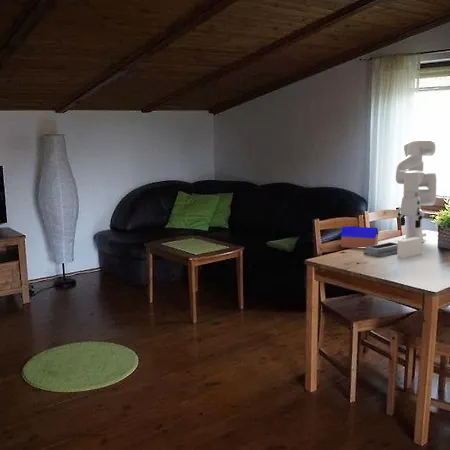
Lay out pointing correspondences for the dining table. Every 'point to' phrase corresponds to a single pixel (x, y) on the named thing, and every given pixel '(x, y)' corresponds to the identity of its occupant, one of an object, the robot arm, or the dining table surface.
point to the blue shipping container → (358, 237)
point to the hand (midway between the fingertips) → (410, 226)
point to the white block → (409, 247)
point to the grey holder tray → (382, 249)
